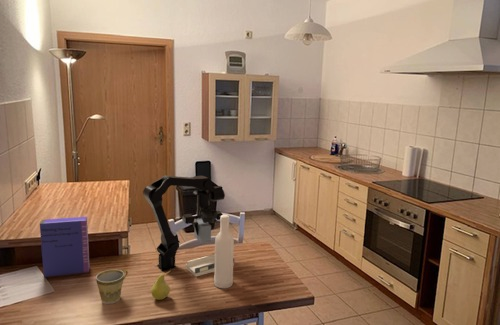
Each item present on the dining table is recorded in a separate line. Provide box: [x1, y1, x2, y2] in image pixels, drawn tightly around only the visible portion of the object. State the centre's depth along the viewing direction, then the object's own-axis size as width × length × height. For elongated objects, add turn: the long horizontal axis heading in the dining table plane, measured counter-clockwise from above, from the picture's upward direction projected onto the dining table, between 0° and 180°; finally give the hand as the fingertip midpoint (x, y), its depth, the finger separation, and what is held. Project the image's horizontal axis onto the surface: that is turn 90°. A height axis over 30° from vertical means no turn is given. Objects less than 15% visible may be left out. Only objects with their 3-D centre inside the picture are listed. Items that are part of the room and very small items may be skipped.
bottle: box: [213, 214, 235, 289], centre depth 154 cm, size 8×8×30 cm
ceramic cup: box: [95, 268, 129, 305], centre depth 143 cm, size 13×10×10 cm
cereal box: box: [39, 216, 91, 278], centre depth 160 cm, size 17×5×24 cm, turn 108°
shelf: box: [185, 253, 235, 277], centre depth 171 cm, size 20×10×4 cm, turn 126°
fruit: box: [151, 270, 171, 301], centre depth 144 cm, size 7×8×12 cm
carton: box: [194, 219, 212, 244], centre depth 179 cm, size 5×9×8 cm, turn 27°
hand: (202, 233), depth 179 cm, fingers closed on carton, 5 cm apart
